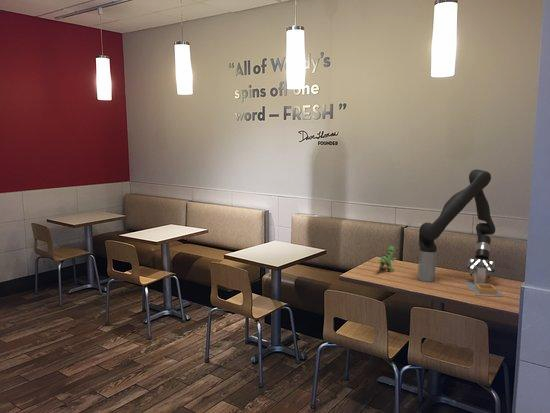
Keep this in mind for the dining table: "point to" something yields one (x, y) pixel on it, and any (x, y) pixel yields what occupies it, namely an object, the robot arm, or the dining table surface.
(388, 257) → the toy
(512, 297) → the dining table surface
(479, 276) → the brushed metal pillar
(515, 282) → the dining table surface
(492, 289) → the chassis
